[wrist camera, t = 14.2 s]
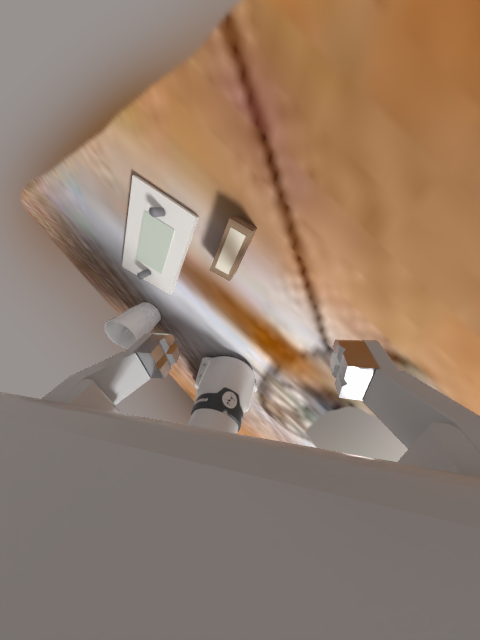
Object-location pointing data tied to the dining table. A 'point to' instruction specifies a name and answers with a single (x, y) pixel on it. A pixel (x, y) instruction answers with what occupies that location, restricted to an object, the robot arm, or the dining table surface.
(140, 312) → the pale white cylinder
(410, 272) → the dining table surface
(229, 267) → the walnut frame
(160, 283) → the wall panel
